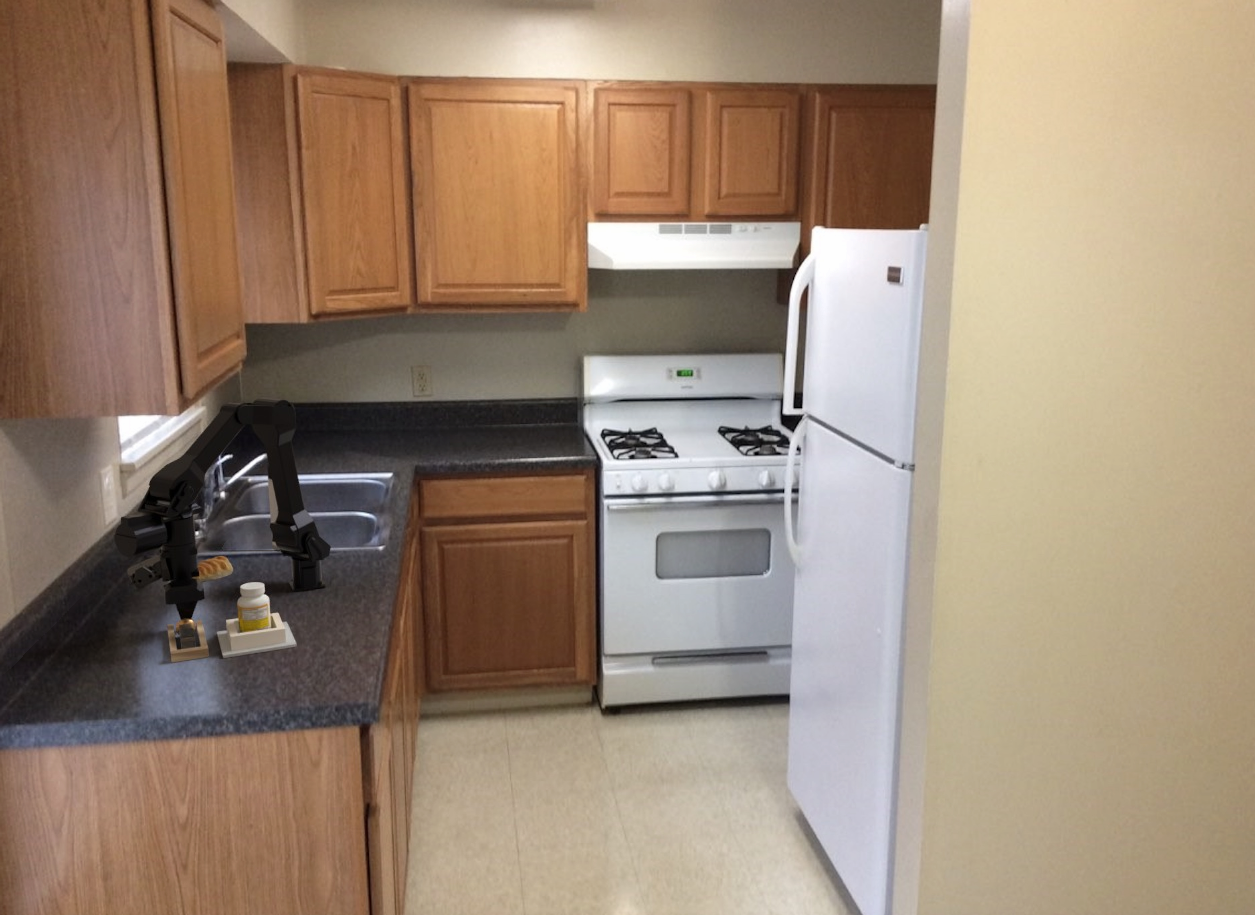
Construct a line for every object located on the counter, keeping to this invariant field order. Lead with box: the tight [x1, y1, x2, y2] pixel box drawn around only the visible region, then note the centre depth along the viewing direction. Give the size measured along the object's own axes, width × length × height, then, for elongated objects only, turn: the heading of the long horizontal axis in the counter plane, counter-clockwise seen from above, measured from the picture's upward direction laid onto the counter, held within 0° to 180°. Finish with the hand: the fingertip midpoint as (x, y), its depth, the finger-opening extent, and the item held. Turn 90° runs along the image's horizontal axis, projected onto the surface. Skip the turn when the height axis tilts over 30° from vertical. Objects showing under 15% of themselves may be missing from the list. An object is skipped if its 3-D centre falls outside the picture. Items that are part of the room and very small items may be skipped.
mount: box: [166, 619, 210, 663], centre depth 180 cm, size 16×6×2 cm, turn 26°
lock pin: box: [175, 618, 197, 649], centre depth 180 cm, size 8×3×3 cm, turn 26°
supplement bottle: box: [236, 581, 271, 633], centre depth 180 cm, size 5×5×10 cm
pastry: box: [192, 555, 234, 583], centre depth 216 cm, size 9×7×4 cm
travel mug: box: [266, 463, 280, 551], centre depth 235 cm, size 6×7×20 cm
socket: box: [216, 612, 298, 659], centre depth 181 cm, size 12×12×3 cm
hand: (185, 624), depth 185 cm, fingers closed
